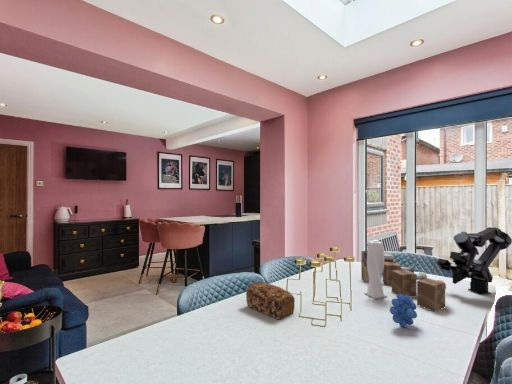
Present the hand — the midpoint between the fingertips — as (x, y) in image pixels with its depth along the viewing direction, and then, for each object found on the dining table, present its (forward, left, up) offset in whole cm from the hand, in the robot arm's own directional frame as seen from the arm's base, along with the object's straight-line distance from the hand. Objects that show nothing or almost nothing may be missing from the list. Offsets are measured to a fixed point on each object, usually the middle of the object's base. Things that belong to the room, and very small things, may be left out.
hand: (453, 283), depth 125 cm
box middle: (+19, -8, -8) cm, 22 cm away
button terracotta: (+13, +5, -2) cm, 14 cm away
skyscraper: (+34, -6, -8) cm, 35 cm away
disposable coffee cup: (+10, -40, -8) cm, 42 cm away
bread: (+85, +5, -8) cm, 86 cm away
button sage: (+13, -8, -2) cm, 15 cm away
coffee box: (+25, -28, -8) cm, 38 cm away
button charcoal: (+10, -22, -2) cm, 24 cm away
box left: (+15, -24, -8) cm, 30 cm away
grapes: (+39, +24, -8) cm, 46 cm away
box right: (+16, +6, -8) cm, 19 cm away
